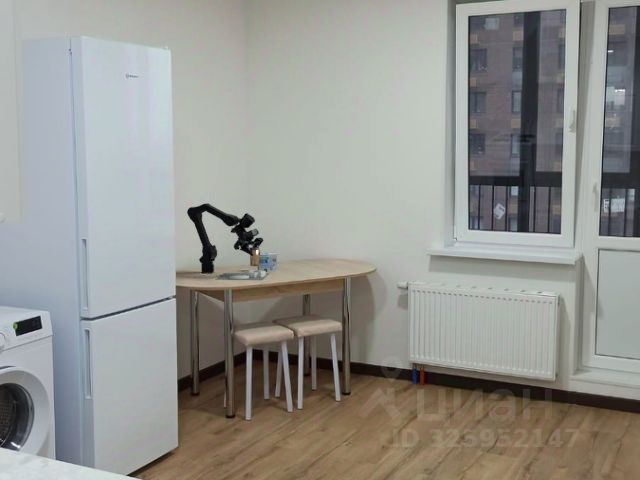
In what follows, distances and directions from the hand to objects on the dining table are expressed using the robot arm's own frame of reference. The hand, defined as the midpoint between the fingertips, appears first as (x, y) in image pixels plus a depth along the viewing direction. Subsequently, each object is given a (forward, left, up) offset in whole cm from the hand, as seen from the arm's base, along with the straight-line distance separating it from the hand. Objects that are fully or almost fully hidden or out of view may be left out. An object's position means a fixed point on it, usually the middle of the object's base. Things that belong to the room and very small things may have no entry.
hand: (256, 254), depth 428 cm
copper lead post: (-1, +1, -6) cm, 6 cm away
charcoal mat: (-7, -2, -12) cm, 14 cm away
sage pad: (-8, -8, -12) cm, 17 cm away
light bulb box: (+3, +20, -13) cm, 24 cm away
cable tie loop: (0, 0, -12) cm, 12 cm away
